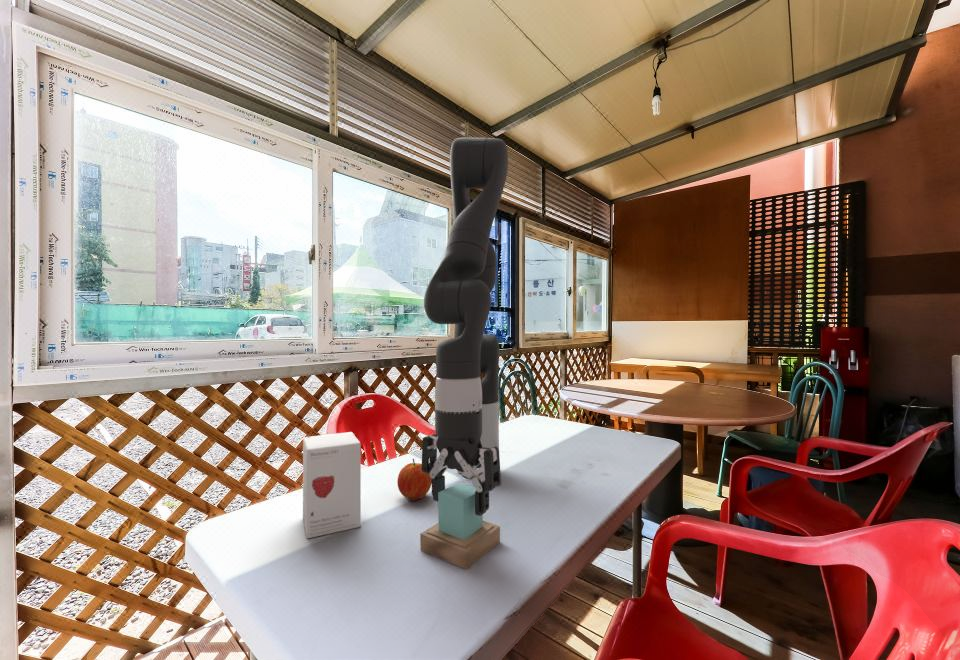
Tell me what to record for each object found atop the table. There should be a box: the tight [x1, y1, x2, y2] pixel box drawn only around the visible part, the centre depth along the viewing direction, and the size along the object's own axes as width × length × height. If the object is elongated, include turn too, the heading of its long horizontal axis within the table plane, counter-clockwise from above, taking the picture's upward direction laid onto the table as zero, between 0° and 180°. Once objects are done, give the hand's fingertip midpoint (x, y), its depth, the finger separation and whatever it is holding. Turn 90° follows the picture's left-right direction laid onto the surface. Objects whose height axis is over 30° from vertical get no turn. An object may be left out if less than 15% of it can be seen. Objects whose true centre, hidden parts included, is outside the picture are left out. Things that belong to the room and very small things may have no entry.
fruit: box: [396, 458, 432, 501], centre depth 81 cm, size 7×7×8 cm
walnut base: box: [419, 520, 501, 570], centre depth 63 cm, size 9×9×3 cm
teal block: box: [437, 482, 484, 540], centre depth 63 cm, size 5×5×6 cm
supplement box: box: [302, 431, 362, 539], centre depth 71 cm, size 9×9×15 cm
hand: (459, 506), depth 63 cm, fingers open, 8 cm apart
